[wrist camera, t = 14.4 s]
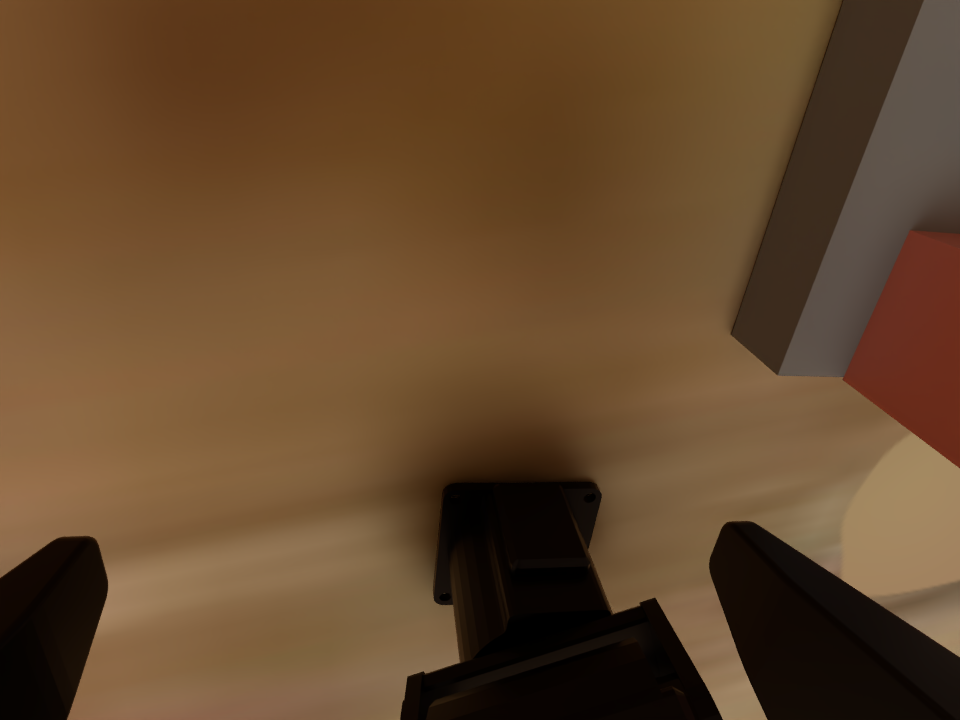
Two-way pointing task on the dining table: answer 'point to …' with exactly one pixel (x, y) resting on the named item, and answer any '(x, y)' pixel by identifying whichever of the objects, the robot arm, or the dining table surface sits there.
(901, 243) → the breaker panel
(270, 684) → the dining table surface
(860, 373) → the cap
